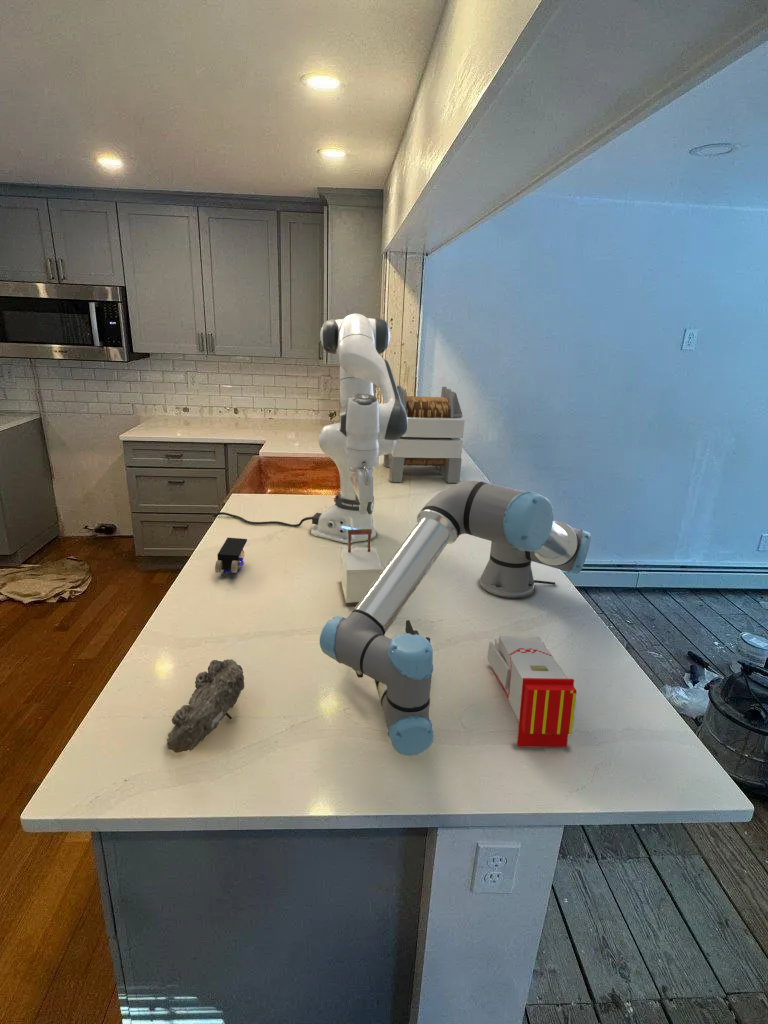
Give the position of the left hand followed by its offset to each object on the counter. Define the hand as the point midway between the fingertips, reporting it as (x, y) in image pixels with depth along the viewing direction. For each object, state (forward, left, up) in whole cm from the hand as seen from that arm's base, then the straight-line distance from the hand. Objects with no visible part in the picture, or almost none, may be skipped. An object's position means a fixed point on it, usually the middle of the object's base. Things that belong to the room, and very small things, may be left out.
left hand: (360, 507), depth 154 cm
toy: (+48, -37, -24) cm, 65 cm away
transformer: (-9, +122, -24) cm, 125 cm away
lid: (+2, -4, -14) cm, 15 cm away
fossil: (-9, -62, -24) cm, 67 cm away
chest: (+2, -4, -24) cm, 24 cm away
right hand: (+15, -30, -17) cm, 38 cm away
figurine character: (-38, -4, -24) cm, 45 cm away
